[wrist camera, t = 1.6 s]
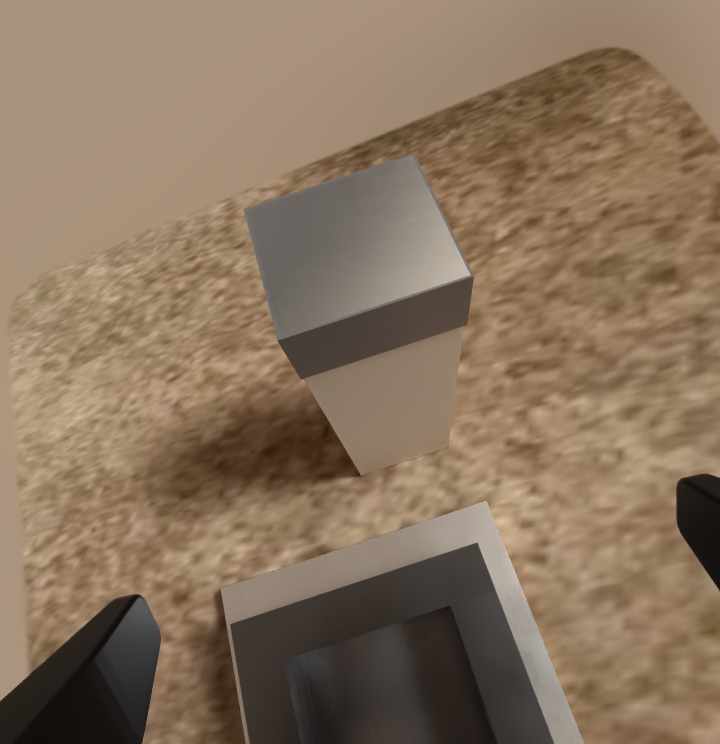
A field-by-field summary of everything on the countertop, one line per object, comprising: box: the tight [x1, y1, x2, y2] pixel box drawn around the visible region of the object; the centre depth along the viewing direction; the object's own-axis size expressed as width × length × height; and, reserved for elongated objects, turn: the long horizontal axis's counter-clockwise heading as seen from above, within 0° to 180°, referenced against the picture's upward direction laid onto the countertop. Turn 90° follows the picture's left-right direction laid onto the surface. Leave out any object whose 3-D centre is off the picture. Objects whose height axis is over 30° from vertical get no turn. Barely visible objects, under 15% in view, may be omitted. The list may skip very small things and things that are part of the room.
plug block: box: [244, 154, 474, 476], centre depth 17 cm, size 4×4×13 cm
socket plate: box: [221, 501, 584, 744], centre depth 16 cm, size 11×11×4 cm
